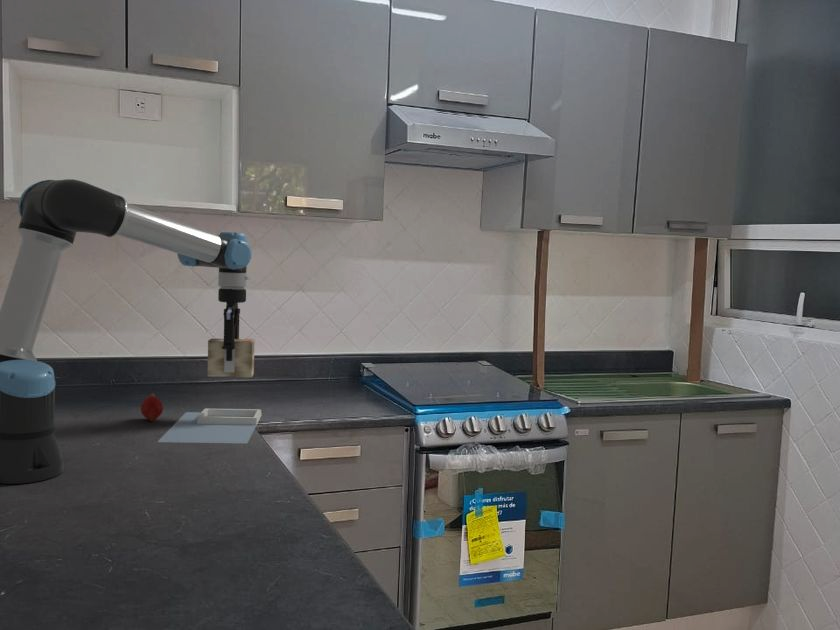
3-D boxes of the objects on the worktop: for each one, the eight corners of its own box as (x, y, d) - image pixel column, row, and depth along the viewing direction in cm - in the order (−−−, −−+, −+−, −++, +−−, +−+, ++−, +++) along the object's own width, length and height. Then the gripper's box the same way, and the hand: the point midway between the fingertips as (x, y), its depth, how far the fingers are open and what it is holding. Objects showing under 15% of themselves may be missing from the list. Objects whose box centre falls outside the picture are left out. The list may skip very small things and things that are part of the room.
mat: (247, 444, 190) (247, 443, 190) (157, 443, 188) (157, 442, 188) (262, 414, 224) (262, 413, 224) (186, 413, 222) (186, 412, 222)
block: (207, 376, 210) (208, 339, 209) (210, 373, 215) (211, 337, 214) (251, 377, 211) (252, 341, 211) (253, 374, 216) (254, 338, 215)
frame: (256, 425, 210) (256, 418, 210) (197, 424, 208) (197, 417, 208) (261, 416, 221) (261, 409, 221) (204, 415, 219) (204, 408, 219)
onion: (136, 421, 209) (136, 393, 209) (152, 418, 214) (152, 390, 214) (151, 424, 207) (151, 396, 206) (167, 421, 212) (167, 392, 211)
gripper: (241, 290, 203) (240, 376, 205) (250, 286, 220) (248, 365, 223) (212, 289, 202) (211, 375, 204) (224, 285, 220) (222, 365, 222)
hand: (231, 370), depth 213 cm, fingers closed on block, 5 cm apart
